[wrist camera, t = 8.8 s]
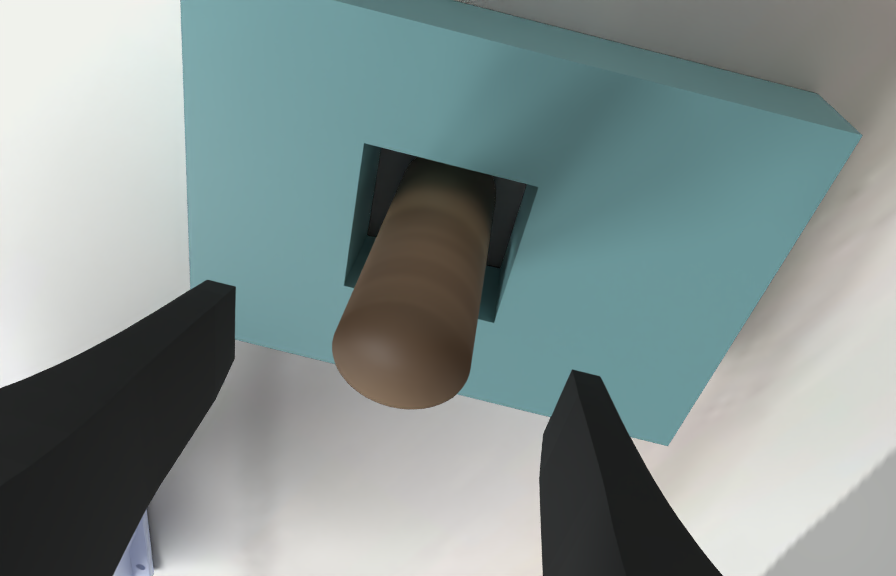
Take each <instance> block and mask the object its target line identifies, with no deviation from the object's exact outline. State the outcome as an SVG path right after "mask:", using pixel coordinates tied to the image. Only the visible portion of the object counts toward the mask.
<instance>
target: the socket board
mask: <svg viewBox="0 0 896 576" xmlns="http://www.w3.org/2000/svg"><path fill="white" fill-rule="evenodd" d="M180 2H181V31H182V60H183V89H184V117H185V146H186V175H187V204H188V233H189V262H190V290H191V289H192V288H194V287H196V286H197V285H199V284H201V283H202V282H204V281H206V280H211V281H215V282H219V283H224V284H228V285H232V286H236V307H235V340H239V341H243V342H248V343H252V344H256V345H260V346H264V347H268V348H272V349H276V350H280V351H284V352H288V353H292V354H296V355H300V356H304V357H308V358H312V359H316V360H321V361H325V362H329V363H333V364H335V362H334V358H333V353H332V341H333V336H334V333H335V331H336V329H337V326H338V324H339V322H340V319H341V317H342V315H343V313H344V310H345V308H346V306H347V303H348V301H349V299H350V297H351V294H352V292H353V290H354V287H355V285H356V283H357V281H358V278H359V276H360V274H361V271H362V269H363V267H364V265H365V262H366V260H367V258H368V255H369V253H370V251H371V249H372V246H373V244H374V242H375V239H376V237H372V236H368V235H367V233H368V227H369V221H370V214H371V208H372V202H373V195H374V189H375V183H376V176H377V170H378V164H379V157H380V151H381V147H382V148H386V149H390V150H393V151H397V152H401V153H405V154H409V155H413V156H417V157H421V158H425V159H429V160H433V161H437V162H441V163H445V164H449V165H453V166H457V167H461V168H465V169H469V170H473V171H477V172H481V173H485V174H489V175H493V176H497V177H501V178H505V179H508V180H512V181H516V182H520V183H524V184H527V185H526V188H525V192H524V195H523V198H522V201H521V204H520V208H519V211H518V214H517V217H516V220H515V224H514V227H513V230H512V233H511V236H510V239H509V243H508V246H507V249H506V252H505V255H504V259H503V262H502V265H501V268H496V267H492V266H488V265H486V268H485V275H484V282H483V288H482V295H481V302H480V309H479V316H478V322H477V329H476V336H475V343H474V350H473V356H472V363H471V369H470V374H469V377H468V380H467V382H466V383H465V385H464V387H463V388H462V389H461V390H460V391H459V393H457V394H458V395H463V396H467V397H471V398H475V399H479V400H483V401H487V402H491V403H495V404H499V405H503V406H507V407H511V408H515V409H519V410H523V411H527V412H531V413H536V414H540V415H544V416H548V417H551V416H552V413H553V411H554V409H555V406H556V404H557V402H558V400H559V397H560V395H561V393H562V391H563V388H564V386H565V384H566V382H567V379H568V377H569V375H570V373H571V370H572V369H573V370H577V371H581V372H585V373H589V374H593V375H597V376H600V377H601V379H602V380H603V382H604V384H605V386H606V388H607V390H608V393H609V395H610V397H611V399H612V401H613V403H614V405H615V407H616V409H617V411H618V413H619V415H620V418H621V420H622V422H623V424H624V426H625V428H626V430H627V432H628V433H629V435H630V437H633V438H637V439H641V440H645V441H649V442H653V443H657V444H661V445H665V446H668V445H669V444H670V442H671V440H672V439H673V437H674V436H675V434H676V432H677V431H678V429H679V428H680V426H681V424H682V423H683V421H684V420H685V418H686V416H687V415H688V413H689V412H690V410H691V408H692V407H693V405H694V404H695V402H696V400H697V399H698V397H699V396H700V394H701V393H702V391H703V389H704V388H705V386H706V385H707V383H708V381H709V380H710V378H711V377H712V375H713V373H714V372H715V370H716V369H717V367H718V365H719V364H720V362H721V361H722V359H723V357H724V356H725V354H726V353H727V351H728V349H729V348H730V346H731V345H732V343H733V341H734V340H735V338H736V337H737V335H738V333H739V332H740V330H741V329H742V327H743V325H744V324H745V322H746V321H747V319H748V318H749V316H750V314H751V313H752V311H753V310H754V308H755V306H756V305H757V303H758V302H759V300H760V298H761V297H762V295H763V294H764V292H765V290H766V289H767V287H768V286H769V284H770V282H771V281H772V279H773V278H774V276H775V274H776V273H777V271H778V270H779V268H780V266H781V265H782V263H783V262H784V260H785V258H786V257H787V255H788V254H789V252H790V250H791V249H792V247H793V246H794V244H795V243H796V241H797V239H798V238H799V236H800V235H801V233H802V231H803V230H804V228H805V227H806V225H807V223H808V222H809V220H810V219H811V217H812V215H813V214H814V212H815V211H816V209H817V207H818V206H819V204H820V203H821V201H822V199H823V198H824V196H825V195H826V193H827V191H828V190H829V188H830V187H831V185H832V183H833V182H834V180H835V179H836V177H837V175H838V174H839V172H840V171H841V169H842V168H843V166H844V164H845V163H846V161H847V160H848V158H849V156H850V155H851V153H852V152H853V150H854V148H855V147H856V145H857V144H858V142H859V140H860V139H861V137H862V136H863V135H862V134H860V133H859V132H858V131H857V130H856V129H855V128H854V127H853V126H852V125H851V124H850V123H849V122H848V121H846V120H845V119H844V118H843V117H842V116H841V115H840V114H839V113H838V112H837V111H836V110H835V109H834V108H832V107H831V106H830V105H829V104H828V103H827V102H826V101H825V100H824V99H823V98H822V97H821V96H819V95H818V94H817V93H813V92H809V91H805V90H801V89H797V88H793V87H789V86H785V85H781V84H778V83H774V82H770V81H766V80H762V79H758V78H754V77H750V76H746V75H742V74H739V73H735V72H731V71H727V70H723V69H719V68H715V67H711V66H707V65H703V64H700V63H696V62H692V61H688V60H684V59H680V58H676V57H672V56H668V55H664V54H661V53H657V52H653V51H649V50H645V49H641V48H637V47H633V46H629V45H625V44H622V43H618V42H614V41H610V40H606V39H602V38H598V37H594V36H590V35H586V34H582V33H579V32H575V31H571V30H567V29H563V28H559V27H555V26H551V25H547V24H543V23H540V22H536V21H532V20H528V19H524V18H520V17H516V16H512V15H508V14H504V13H501V12H497V11H493V10H489V9H485V8H481V7H477V6H473V5H469V4H465V3H462V2H458V1H454V0H180Z"/></svg>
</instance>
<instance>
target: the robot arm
mask: <svg viewBox="0 0 896 576" xmlns="http://www.w3.org/2000/svg"><path fill="white" fill-rule="evenodd" d="M235 307H236V286H232V285H228V284H224V283H219V282H215V281H211V280H206V281H204V282H202V283H201V284H199V285H197V286H196V287H194V288H192V289H191V290H189V291H187V292H186V293H184V294H183V295H181V296H179V297H178V298H176V299H175V300H173V301H171V302H170V303H168V304H167V305H165V306H163V307H162V308H160V309H159V310H157V311H155V312H154V313H152V314H150V315H149V316H147V317H145V318H144V319H142V320H140V321H139V322H137V323H135V324H133V325H132V326H130V327H128V328H127V329H125V330H123V331H122V332H120V333H118V334H116V335H115V336H113V337H111V338H109V339H107V340H105V341H103V342H101V343H100V344H98V345H96V346H94V347H92V348H90V349H88V350H86V351H85V352H83V353H81V354H79V355H77V356H75V357H73V358H71V359H69V360H66V361H64V362H62V363H60V364H58V365H56V366H54V367H51V368H49V369H47V370H44V371H42V372H40V373H37V374H35V375H33V376H31V377H28V378H26V379H23V380H21V381H18V382H16V383H13V384H10V385H8V386H5V387H2V388H0V576H153V575H154V569H153V561H152V552H151V543H150V534H149V525H148V517H147V507H148V505H149V503H150V502H151V500H152V498H153V496H154V495H155V493H156V491H157V490H158V488H159V486H160V485H161V483H162V482H163V480H164V478H165V477H166V475H167V474H168V472H169V471H170V469H171V468H172V466H173V465H174V463H175V462H176V460H177V458H178V457H179V455H180V454H181V452H182V451H183V449H184V448H185V446H186V445H187V443H188V441H189V440H190V438H191V437H192V435H193V434H194V432H195V431H196V429H197V428H198V426H199V424H200V423H201V421H202V420H203V418H204V417H205V415H206V413H207V412H208V410H209V409H210V407H211V406H212V404H213V402H214V401H215V399H216V397H217V395H218V393H219V391H220V389H221V387H222V385H223V383H224V381H225V378H226V376H227V374H228V372H229V370H230V367H231V365H232V363H233V361H234V359H235ZM539 484H540V515H541V540H542V565H543V576H723V575H722V574H721V573H720V572H719V571H718V569H717V568H716V567H715V566H714V565H713V563H712V562H711V561H710V560H709V559H708V557H707V556H706V555H705V553H704V552H703V551H702V550H701V548H700V547H699V546H698V544H697V543H696V542H695V540H694V539H693V537H692V536H691V535H690V533H689V532H688V531H687V529H686V528H685V526H684V525H683V524H682V522H681V521H680V520H679V518H678V517H677V515H676V514H675V512H674V511H673V509H672V508H671V506H670V505H669V503H668V502H667V500H666V499H665V497H664V495H663V494H662V492H661V490H660V489H659V487H658V486H657V484H656V482H655V481H654V479H653V477H652V476H651V474H650V472H649V470H648V469H647V467H646V465H645V463H644V461H643V460H642V458H641V456H640V454H639V452H638V450H637V449H636V447H635V445H634V443H633V441H632V439H631V437H630V435H629V433H628V432H627V430H626V428H625V426H624V424H623V422H622V420H621V418H620V415H619V413H618V411H617V409H616V407H615V405H614V403H613V401H612V399H611V397H610V395H609V393H608V390H607V388H606V386H605V384H604V382H603V380H602V379H601V377H600V376H597V375H593V374H589V373H585V372H581V371H577V370H573V369H572V370H571V373H570V375H569V377H568V379H567V382H566V384H565V386H564V388H563V391H562V393H561V395H560V397H559V400H558V402H557V404H556V406H555V409H554V411H553V413H552V416H551V418H550V420H549V422H548V425H547V427H546V429H545V431H544V434H543V442H542V452H541V463H540V476H539Z"/></svg>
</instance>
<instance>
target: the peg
mask: <svg viewBox="0 0 896 576" xmlns="http://www.w3.org/2000/svg"><path fill="white" fill-rule="evenodd" d="M495 200H496V187H495V182H494V179H493V177H492V175H489V174H485V173H481V172H477V171H473V170H469V169H465V168H461V167H457V166H453V165H449V164H445V163H441V162H437V161H433V160H429V159H425V158H421V157H416V158H415V159H414V160H413V161H412V162H411V163H410V164H409V166H408V167H407V169H406V171H405V173H404V175H403V178H402V180H401V182H400V185H399V187H398V189H397V191H396V194H395V196H394V198H393V201H392V203H391V205H390V207H389V210H388V212H387V214H386V217H385V219H384V221H383V223H382V226H381V228H380V230H379V233H378V235H377V237H376V239H375V242H374V244H373V246H372V249H371V251H370V253H369V255H368V258H367V260H366V262H365V265H364V267H363V269H362V271H361V274H360V276H359V278H358V281H357V283H356V285H355V287H354V290H353V292H352V294H351V297H350V299H349V301H348V303H347V306H346V308H345V310H344V313H343V315H342V317H341V319H340V322H339V324H338V326H337V329H336V331H335V333H334V336H333V341H332V353H333V358H334V362H335V364H336V366H337V369H338V370H339V372H340V374H341V375H342V377H343V378H344V379H345V380H346V382H347V383H348V384H349V385H350V386H351V387H353V388H354V389H355V390H356V391H358V392H359V393H360V394H362V395H363V396H365V397H367V398H369V399H371V400H373V401H375V402H377V403H380V404H383V405H386V406H389V407H394V408H400V409H424V408H429V407H433V406H436V405H440V404H442V403H444V402H446V401H448V400H449V399H451V398H453V397H454V396H455V395H456V394H457V393H459V391H460V390H461V389H462V388H463V387H464V385H465V383H466V382H467V380H468V377H469V374H470V369H471V363H472V356H473V350H474V343H475V336H476V329H477V322H478V316H479V309H480V302H481V295H482V288H483V282H484V275H485V268H486V261H487V255H488V248H489V241H490V234H491V227H492V221H493V214H494V207H495Z"/></svg>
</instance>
